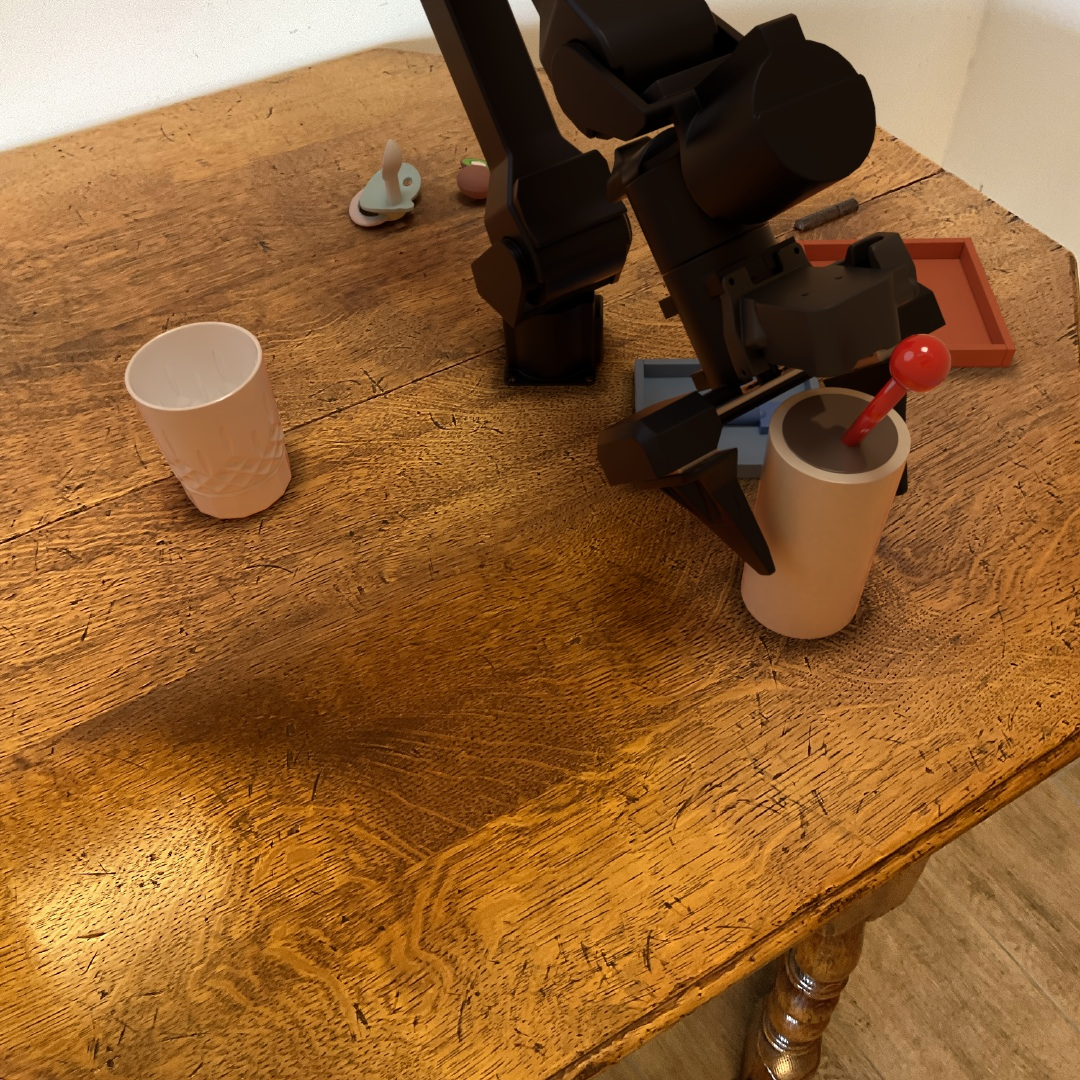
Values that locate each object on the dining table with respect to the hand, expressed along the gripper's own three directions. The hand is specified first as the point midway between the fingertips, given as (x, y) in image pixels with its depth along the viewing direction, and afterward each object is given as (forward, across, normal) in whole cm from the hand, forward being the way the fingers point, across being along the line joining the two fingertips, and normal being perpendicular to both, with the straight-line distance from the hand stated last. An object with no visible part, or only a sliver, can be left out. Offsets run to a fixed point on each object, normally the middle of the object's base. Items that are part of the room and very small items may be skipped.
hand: (835, 533), depth 52 cm
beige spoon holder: (+4, 0, +6) cm, 7 cm away
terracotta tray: (-7, +23, +16) cm, 29 cm away
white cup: (-16, -23, +26) cm, 38 cm away
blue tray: (-5, +6, +15) cm, 17 cm away
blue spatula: (-6, +6, +15) cm, 17 cm away
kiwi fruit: (-31, +8, +39) cm, 51 cm away
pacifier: (-32, 0, +42) cm, 53 cm away
